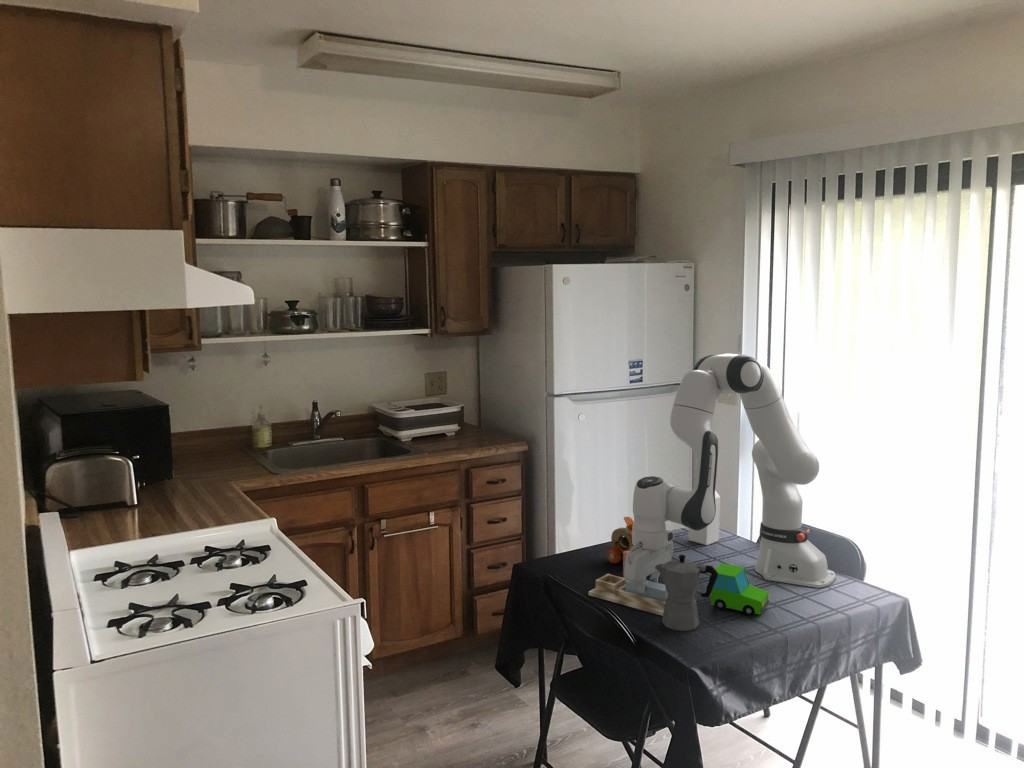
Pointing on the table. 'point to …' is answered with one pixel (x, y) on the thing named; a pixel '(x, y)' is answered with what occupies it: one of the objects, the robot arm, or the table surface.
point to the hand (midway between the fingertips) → (648, 588)
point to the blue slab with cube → (648, 590)
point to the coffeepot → (683, 592)
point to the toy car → (737, 591)
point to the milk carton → (708, 528)
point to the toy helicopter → (620, 541)
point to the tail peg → (624, 560)
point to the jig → (624, 595)
